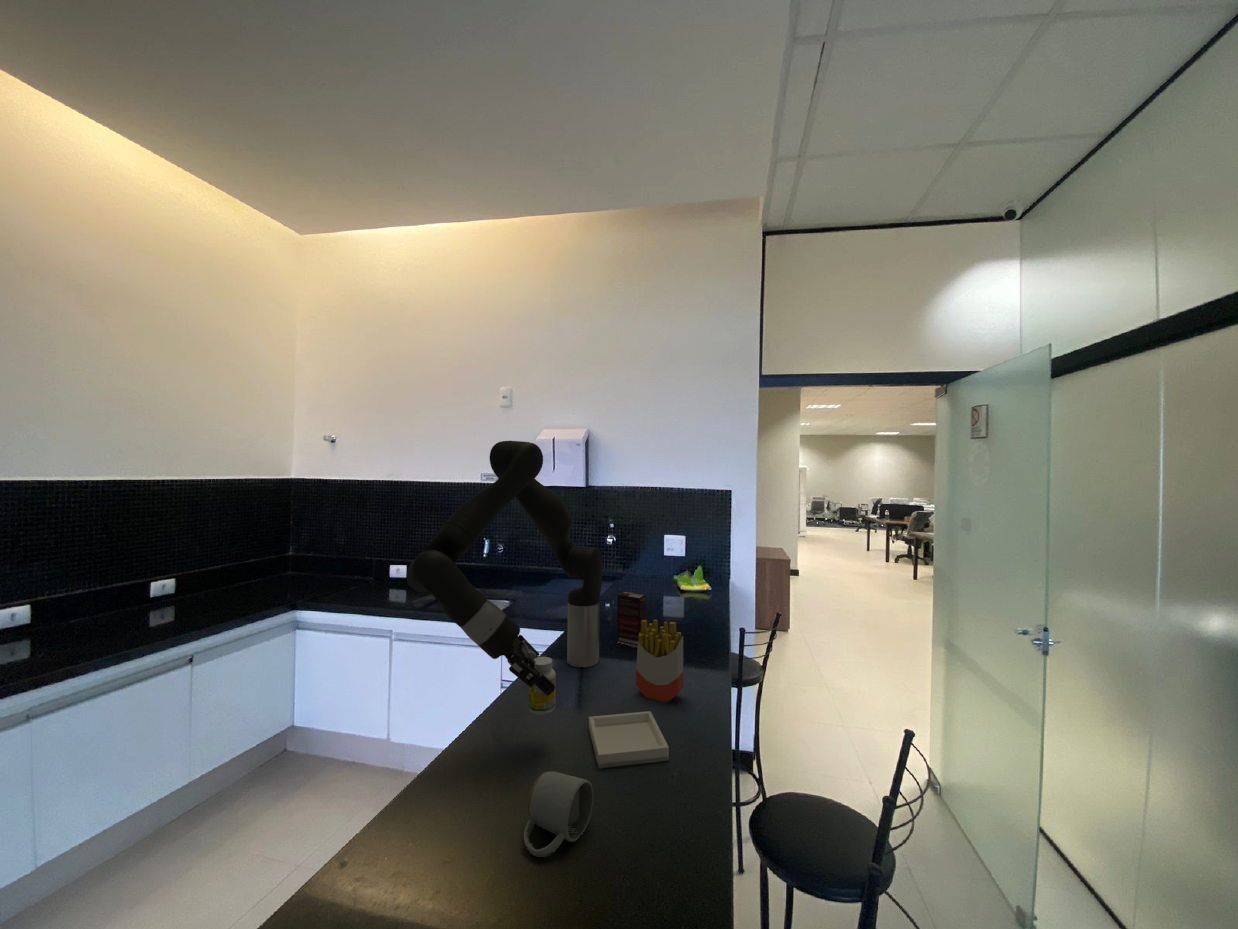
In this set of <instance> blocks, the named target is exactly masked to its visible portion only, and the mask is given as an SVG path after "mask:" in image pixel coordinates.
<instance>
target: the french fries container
mask: <svg viewBox="0 0 1238 929" xmlns="http://www.w3.org/2000/svg"><path fill="white" fill-rule="evenodd" d="M658 625H659V623H658V619H653V620H652V623H648V620H642V621H641V626H642V630H641V631H640V632H639V635H638V638H639V639H638V648H637V651H636V652H637V653H636V663H635V664H636V665H635V687H637V689H638V691H640V692H641V693H642V695H643V697H645V698H647V699H650V698H651V700H656V701H660V702H665V703H668V702H670V701H671V700H672V699H673V698H675V697H676V696H678V695H679V694H680V692H681V691H682V689H683V688H684V636H683V635H682V632H680V631H679V632H678V631H677V622H675V621H670V622H669V623H668V621H664V622H663V626H660V627H659V626H658Z"/></svg>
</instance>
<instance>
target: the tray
mask: <svg viewBox="0 0 1238 929" xmlns="http://www.w3.org/2000/svg"><path fill="white" fill-rule="evenodd" d="M588 731H589V734H590V738H591V743H592V747H593V751H594V756H595V760H596V763H597V768H598V769H605V768H606V769H607V768H615V767H625V766H632V765H633V766H634V765H643V764H648V763H649V764H650V763H651V764H652V763H659V762H666V761H667V762H668V761H669V760H670V757H669V755H670V753H669V751H670V747H669V745H668V743H667V741H666V739H665V737H664V735H663V733H662V731H661V729H660V727H659V726H658V724H657V721H656V719H655V716H653V713H652V712H651V711H650V710H649V711H637V712H628V713H617V714H607V715H606V714H605V715H595V716H588Z"/></svg>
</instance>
